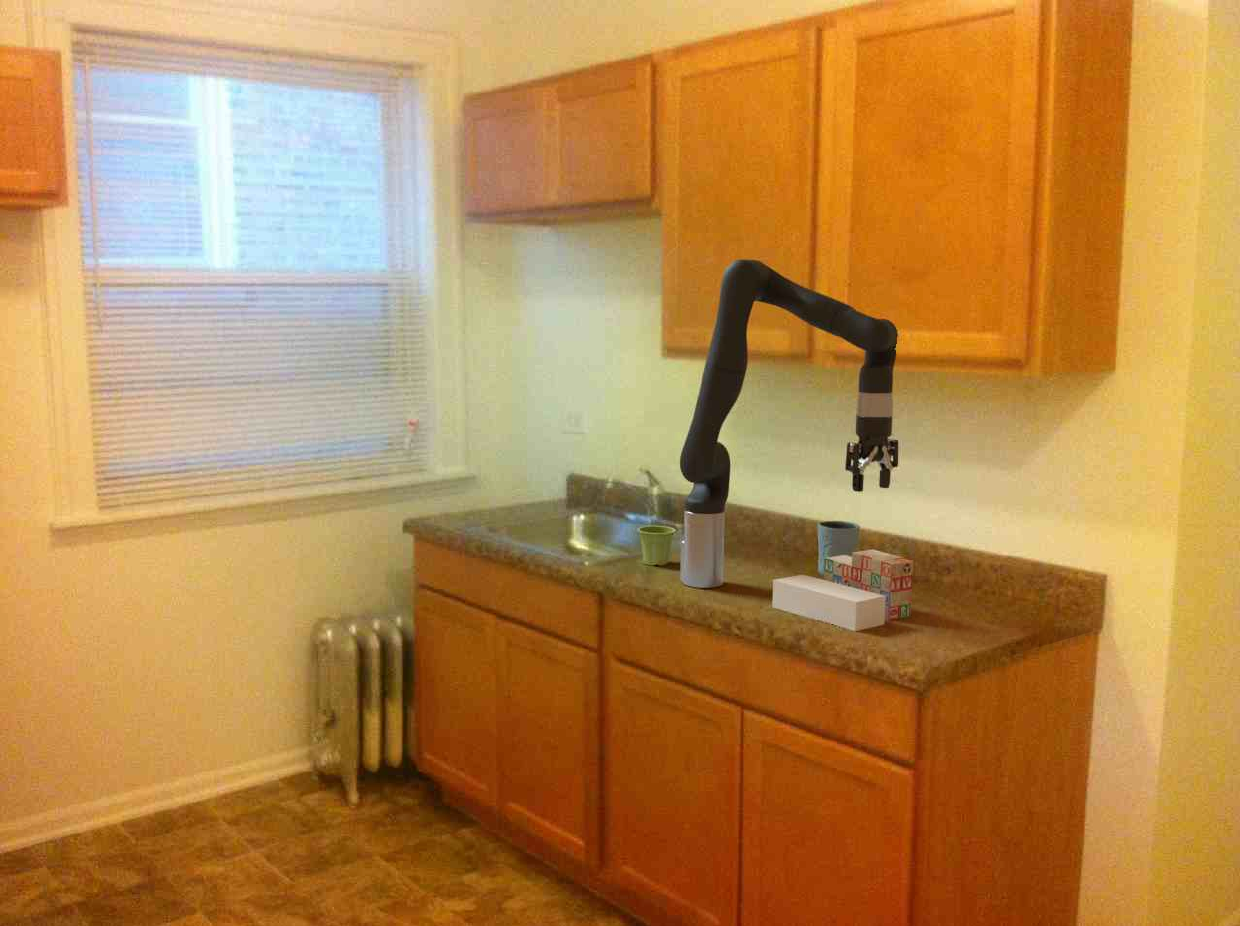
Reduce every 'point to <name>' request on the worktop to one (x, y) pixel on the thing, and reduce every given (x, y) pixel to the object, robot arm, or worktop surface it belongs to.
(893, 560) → the stack of blocks
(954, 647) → the worktop surface
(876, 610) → the block
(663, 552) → the plant pot
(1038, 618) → the worktop surface
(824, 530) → the blue cup
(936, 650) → the worktop surface
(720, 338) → the robot arm
